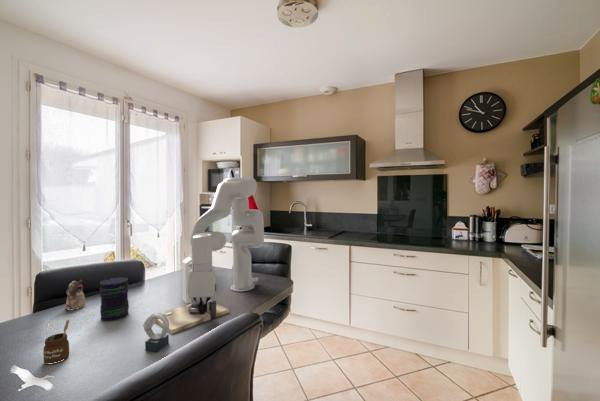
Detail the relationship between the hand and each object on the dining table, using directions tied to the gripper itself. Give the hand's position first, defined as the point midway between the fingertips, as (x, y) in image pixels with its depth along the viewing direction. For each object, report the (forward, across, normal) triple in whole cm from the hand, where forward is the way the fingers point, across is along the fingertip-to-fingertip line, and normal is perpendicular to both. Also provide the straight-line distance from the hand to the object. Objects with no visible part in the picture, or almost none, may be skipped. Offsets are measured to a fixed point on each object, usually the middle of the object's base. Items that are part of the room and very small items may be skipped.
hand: (202, 313), depth 109 cm
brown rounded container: (+4, -36, -25) cm, 44 cm away
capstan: (+2, -2, +6) cm, 6 cm away
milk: (+4, -15, +22) cm, 27 cm away
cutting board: (+4, -7, +6) cm, 10 cm away
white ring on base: (+4, -9, -17) cm, 20 cm away
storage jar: (+4, -39, +5) cm, 40 cm away
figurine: (+4, -63, +14) cm, 65 cm away
